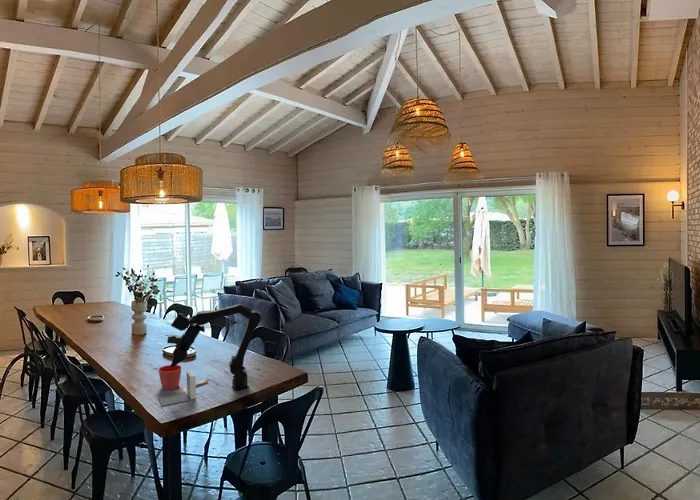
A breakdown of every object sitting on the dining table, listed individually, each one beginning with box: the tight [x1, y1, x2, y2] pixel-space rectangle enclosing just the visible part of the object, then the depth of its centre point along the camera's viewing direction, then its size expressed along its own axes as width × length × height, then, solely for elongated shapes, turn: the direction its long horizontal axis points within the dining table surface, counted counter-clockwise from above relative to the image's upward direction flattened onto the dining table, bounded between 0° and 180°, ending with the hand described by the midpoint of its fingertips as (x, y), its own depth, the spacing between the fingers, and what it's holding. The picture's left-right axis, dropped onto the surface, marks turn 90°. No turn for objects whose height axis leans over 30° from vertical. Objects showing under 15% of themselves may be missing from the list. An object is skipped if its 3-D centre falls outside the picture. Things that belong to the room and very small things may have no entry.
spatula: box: [173, 378, 209, 394], centre depth 220 cm, size 18×4×1 cm, turn 144°
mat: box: [157, 392, 191, 408], centre depth 206 cm, size 12×12×1 cm
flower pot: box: [158, 364, 182, 391], centre depth 221 cm, size 11×11×10 cm
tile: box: [186, 370, 197, 400], centre depth 209 cm, size 2×8×11 cm, turn 30°
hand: (172, 364), depth 211 cm, fingers open, 9 cm apart
